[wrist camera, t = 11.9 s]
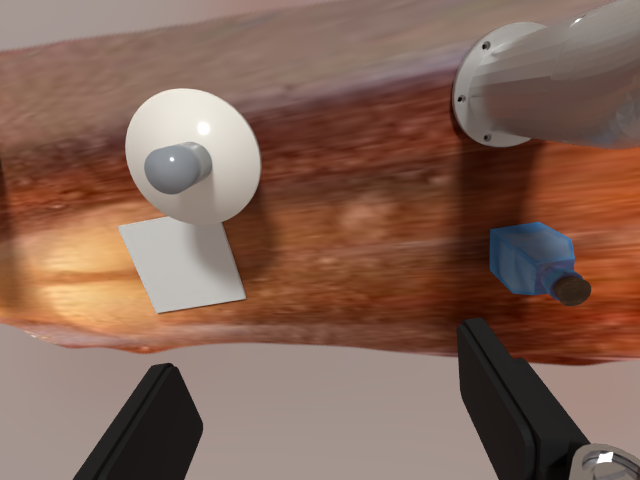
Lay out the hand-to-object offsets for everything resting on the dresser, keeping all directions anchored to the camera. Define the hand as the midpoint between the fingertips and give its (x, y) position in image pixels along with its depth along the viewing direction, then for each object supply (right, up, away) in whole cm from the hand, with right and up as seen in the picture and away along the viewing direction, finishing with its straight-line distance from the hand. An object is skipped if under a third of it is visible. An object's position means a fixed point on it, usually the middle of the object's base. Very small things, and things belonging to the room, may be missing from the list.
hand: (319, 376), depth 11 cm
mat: (-19, +1, +36) cm, 41 cm away
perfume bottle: (+26, +4, +34) cm, 43 cm away
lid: (-11, +12, +20) cm, 26 cm away
